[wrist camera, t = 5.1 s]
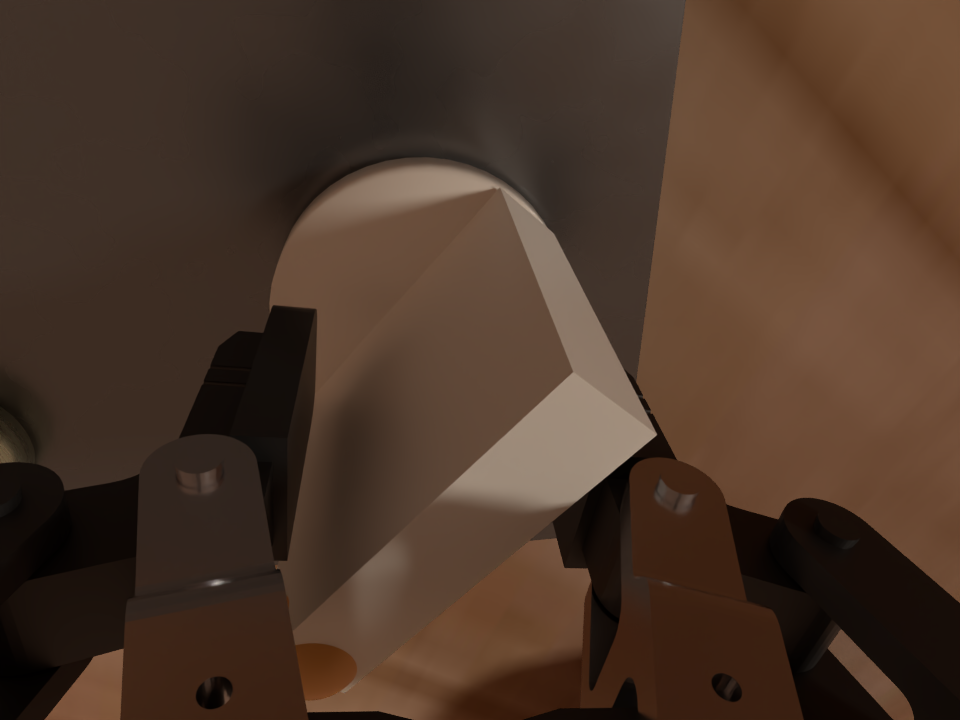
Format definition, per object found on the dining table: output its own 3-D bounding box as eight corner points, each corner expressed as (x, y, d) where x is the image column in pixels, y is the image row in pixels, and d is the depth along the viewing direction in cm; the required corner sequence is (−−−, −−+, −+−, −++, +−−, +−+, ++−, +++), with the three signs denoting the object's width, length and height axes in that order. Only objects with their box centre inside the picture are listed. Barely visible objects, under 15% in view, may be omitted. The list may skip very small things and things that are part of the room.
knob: (398, 87, 12) (398, 255, 6) (618, 279, 14) (780, 536, 8) (205, 338, 14) (60, 648, 8) (424, 465, 17) (441, 773, 11)
